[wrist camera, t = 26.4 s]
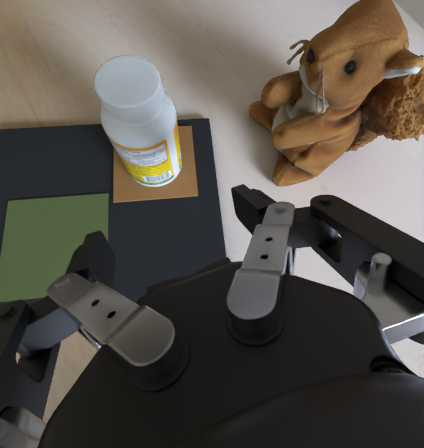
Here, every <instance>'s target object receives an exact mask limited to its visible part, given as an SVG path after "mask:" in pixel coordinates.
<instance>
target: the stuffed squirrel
mask: <svg viewBox="0 0 424 448" xmlns="http://www.w3.org/2000/svg"><path fill="white" fill-rule="evenodd" d="M300 43H303V46H302V47H301V48H300V49H299V50H298V51H297V52H296V53H295V54H294V55H293V56H292V58H290V59H289V60H288V61H287V64H288V65H289V64H290V63H291V61H292V60H293V59H294V58H295V57H296V56H297V55H298V54H300V53H301V52H302V51H303V50H305V51H304V53H303V55H302V57H301V58H300V67H299V71H295V72H290V73H287V74H284V75H281V76H278V77H275V78H272V79H271V80H270V81H269V82H268V83H267V84H266V85H265V87H264V88H263V90H262V94H261V100H262V101H257V102H254V103H252V104H251V105H250V107H249V114H250V116H251V117H252V118H253V119H254V120H256V121H257V122H258V123H260V124H261V125H263V126H264V127H266V128H267V129H269V130H271V131H272V133H271V140H272V145H273V146H274V147H276V148H277V149H278V151H280V152H281V154H280V157H279V159H278V161H277V164H276V167H275V170H274V175H273V182H274V183H275V184H276V185H277V186H287V185H292V184H296V183H300V182H303V181H306V180H309V179H312V178H314V177H316V176H318V175H319V174H320V173H321V172H322V171H324V170H325V169H326V168H327V167H328V166H329V165H331V164H332V163H333V162H334V161H335V160H337V159H338V158H339V157H340V156H341V155H342V154H343V153H344V152H345V151H350V150H353V151H354V150H355V151H356V150H357V148H359V147H363V146H364V145H365V144H368V143H369V142H371V141H373V140H374V139H375V138H377V136H378V135H379V136H381V135H384V136H385V137H386V138H387V139H388V138H389V139H390V138H391V139H392V140H395V139H397V140H399V141H402V140H403V139H407V138H415V139H416V140H417V141H419V136H420V135H422V134H424V58H423V57H424V56H423V55H420V56H417V55H415V54H413V53H412V52H410V51H409V50H407V49H408V46H409V41H408V33H407V29H406V27H405V25H404V23H403V21H402V18H401V16H400V14H399V12H398V10H397V9H396V7H395V5H394V3H393V1H392V0H360V1H358V2H356V3H355V4H353V5H352V6H351V7H349V8H348V9H347V10H346V11H345V12H344V13H343V14H342V15H341V16H340V17H339V18H338V20H337V21H336V22H335V23H334V24H333V25H332V26H330V27H328V28H327V29H325V30H323V31H321V32H320V33H318V34H317V35H316V36H314V37H313V38H312V39H311V41H308V40H301V41H298V42H297V43H295V44H294V45H292V46H291V47H290V49H294V48H295V47H296V46H297V45H298V44H300Z"/></svg>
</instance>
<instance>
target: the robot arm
mask: <svg viewBox="0 0 424 448" xmlns="http://www.w3.org/2000/svg"><path fill="white" fill-rule="evenodd" d="M231 191H232V197H233V203H234V208H235V213H236V215H237V218H238V219H239V220H240V221H241V223H242V224H243V225H244V226H245V227H246V228H247V229H248V231H249V232H250V233H251V234H252V235H253V236H252V238H251V241H250V244H249V247H248V250H247V252H246V255H245V258H244V261H239V262H231V261H230V259H229V258H228V257H227V258H225V259H222V260H219V261H216V262H214V263H211V264H208V265H207V266H205V267H203V268H202V269H200V270H198V271H196V272H195V273H193V274H191V275H189V276H184V277H179V278H173V279H168V280H165V281H162V282H159V283H157V284H154V285H151V286H148V287H146V290H147V294H146V295H144V296H142V297H141V298H140V299H138V300H137V301H136V302H133V301H131V300H130V299H128V298H126V297H125V296H123V295H121V294H120V293H118V292H116V291H115V290H113V281H114V272H115V264H116V259H115V255H114V252H113V250H112V248H111V247H110V245H109V243H108V241H107V239H106V237H105V236H104V234H103V232H102V231H101V230H99V231H95V232H92V233H89V234H86V236H85V239H84V242H83V244H82V245H80V246H79V247H78V248H77V249H76V250H75V251H74V253H73V255H72V259H71V260H70V263H69V265H68V267H67V270H66V272H65V275H63V276H61V277H59V278H58V279H56V280H55V281H53V282H52V283H51V284H50V285H49V287H48V288H47V290H46V294H47V296H46V297H44V298H42V299H40V300H38V301H37V302H35V303H33V304H31V305H28V304H27V303H26V302H25V301H24V300H15V301H12V302H10V303H8V304H6V305H4V306H3V307H1V308H0V448H424V378H422V377H419V376H417V375H416V374H415V373H413V372H412V371H411V370H409V369H408V368H407V367H406V366H405V365H404V364H403V362H402V361H401V360H400V359H399V357H398V356H397V354H396V353H395V352H394V350H393V349H392V347H391V345H390V344H392V343H395V342H398V341H400V340H403V339H405V338H410V339H411V340H413V341H415V342H417V343H420V344H423V345H424V243H423V242H421V241H419V240H417V239H416V238H414V237H412V236H410V235H408V234H406V233H404V232H402V231H400V230H399V229H397V228H395V227H393V226H391V225H389V224H387V223H385V222H384V221H382V220H380V219H378V218H376V217H374V216H372V215H370V214H369V213H367V212H365V211H363V210H361V209H359V208H357V207H355V206H353V205H352V204H350V203H348V202H346V201H344V200H342V199H340V198H338V197H336V196H333V195H319V196H316V197H314V198H312V199H311V201H310V207H303V208H295V207H294V205H293V204H291V203H289V202H276V201H274V200H273V199H271V198H270V197H268V196H267V195H266V194H264V193H263V192H262V191H260V190H256V189H251V190H250V189H249V188H248V187H246V186H245V185H244V184H242V185H239V186H236V187H233V188H232V189H231ZM338 234H340V236H341V238H340V237H339V236H338ZM310 246H311V248H312V249H313V250H314V251H315V252H316V253H317V254H319V255H320V256H321V257H322V258H323V259H324V260H325V261H326V262H327V263H328V264H329V265H330V266H331V267H332V268H334V269H335V270H336V271H337V272H338V273H339V274H340V275H341V276H342V277H343V278H344V279H345V280H346V281H347V282H349V283H350V284H351V285H352V286H353V287H354V289H353V294H354V295H352V294H350V293H348V292H345V291H343V290H340V289H337V288H333V287H330V286H327V285H324V284H320V283H317V282H314V281H310V280H307V279H304V278H301V277H297V276H294V266H295V257H296V248H302V247H310ZM76 331H78V333H79V334H80V335H81V336H82V337H84V338H85V339H86V340H87V341H88V342H89V343H90V344H91V345H92V346H93V347H94V348H95V349H96V350H97V351H98V352H97V353H96V354H95V356H94V357H93V359H92V360H91V361H90V363H89V364H88V365H87V367H86V368H85V370H84V371H83V372H82V374H81V375H80V377H79V378H78V379H77V381H76V382H75V383H74V385H73V386H72V388H71V389H70V390H69V392H68V393H67V395H66V396H65V397H64V399H63V400H62V401H61V403H60V404H59V406H58V407H57V408H56V410H55V411H54V413H53V414H52V416H51V417H50V419H49V421H48V423H47V424H46V423H45V422H44V421H43V420H42V419H43V415H44V410H45V406H46V402H47V398H48V394H49V390H50V386H51V381H52V377H53V373H54V369H55V365H56V361H57V357H58V352H59V348H60V344H61V341H62V340H63V339H65V338H67V337H68V336H70V335H71V334H73V333H74V332H76ZM16 352H18V353H19V354H20V355H21V356H20V359H19V361H18V364H17V363H16Z"/></svg>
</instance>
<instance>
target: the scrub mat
mask: <svg viewBox="0 0 424 448" xmlns="http://www.w3.org/2000/svg"><path fill="white" fill-rule="evenodd" d="M177 124H178V133H179V142H180V150H181V158H182V165H181V169H180V172H179V174H178V175H177V176H176V178H175V179H174V180H173V181H171V182H170V183H168V184H166V185H163V186H159V187H149V186H145V185H142V184H140V183H138V182H137V181H135V180H134V179H133V178H132V177H131V175H130V174H129V172H128V170H127V168H126V167H125V165H124V163H123V161H122V160H121V158H120V156H119V155H118V153H117V151H116V150H115V148H114V146H113V144H112V143H111V141H110V139H109V137H108V136H107V134H106V132H105V130H104V128H103V126H102V124H94V125H75V126H57V127H38V128H20V129H1V130H0V308H1V307H3V306H4V305H6V304H8V303H10V302H12V301H15V300H24V301H25V302H26V303H27V304H28V305H31V304H33V303H35V302H37V301H38V300H40V299H42V298H44V297H46V296H47V294H46V290H47V288H48V287H49V285H50V284H51V283H52V282H53V281H55V280H56V279H58V278H59V277H61V276H63V275H65V272H66V270H67V267H68V265H69V263H70V260H71V259H72V255H73V253H74V251H75V250H76V249H77V248H78V247H79V246H80V245H82V244H83V242H84V239H85V236H86V234H89V233H92V232H95V231H99V230H101V231H102V232H103V234H104V236H105V237H106V239H107V241H108V243H109V245H110V247H111V248H112V250H113V252H114V255H115V259H116V264H115V272H114V281H113V290H115V291H116V292H118V293H120V294H121V295H123V296H125V297H126V298H128V299H130V300H131V301H133V302H136V301H137V300H138V299H140V298H141V297H142V296H144V295H146V294H147V290H146V287H148V286H151V285H154V284H157V283H159V282H162V281H165V280H168V279H173V278H179V277H184V276H189V275H191V274H193V273H195V272H196V271H198V270H200V269H202V268H203V267H205V266H207V265H208V264H211V263H214V262H216V261H219V260H222V259H225V258H226V251H225V243H224V235H223V227H222V219H221V211H220V203H219V195H218V187H217V178H216V170H215V162H214V154H213V146H212V138H211V130H210V122H209V118H205V119H186V120H177Z"/></svg>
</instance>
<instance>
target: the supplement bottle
mask: <svg viewBox="0 0 424 448" xmlns="http://www.w3.org/2000/svg"><path fill="white" fill-rule="evenodd" d="M94 88H95V91H96V93H97V95H98V97H99V99H100V101H101V104H102V106H101V111H100V117H101V123H102V126H103V128H104V130H105V132H106V134H107V136H108V137H109V139H110V141H111V143H112V144H113V146H114V148H115V150H116V151H117V153H118V155H119V156H120V158H121V160H122V161H123V163H124V165H125V167H126V168H127V170H128V172H129V174H130V175H131V177H132V178H133V179H134V180H135V181H137V182H138V183H140V184H142V185H145V186H149V187H159V186H163V185H166V184H168V183H170V182H171V181H173V180H174V179H175V178H176V176H177V175H178V174H179V172H180V169H181V165H182V158H181V150H180V142H179V133H178V124H177V116H176V110H175V106H174V104H173V102H172V100H171V98H170V97H169V95H168V94H167V93H166V92H165V91H164V90H163V87H162V82H161V77H160V74H159V72H158V70H157V68H156V67H155V66H154V65H153V64H152V63H151V62H149V61H148V60H146V59H144V58H141V57H137V56H131V55H124V56H118V57H114V58H112V59H110V60H108V61H106V62H105V63H103V64H102V65H101V66H100V67H99V69H98V70H97V72H96V74H95V77H94Z"/></svg>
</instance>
